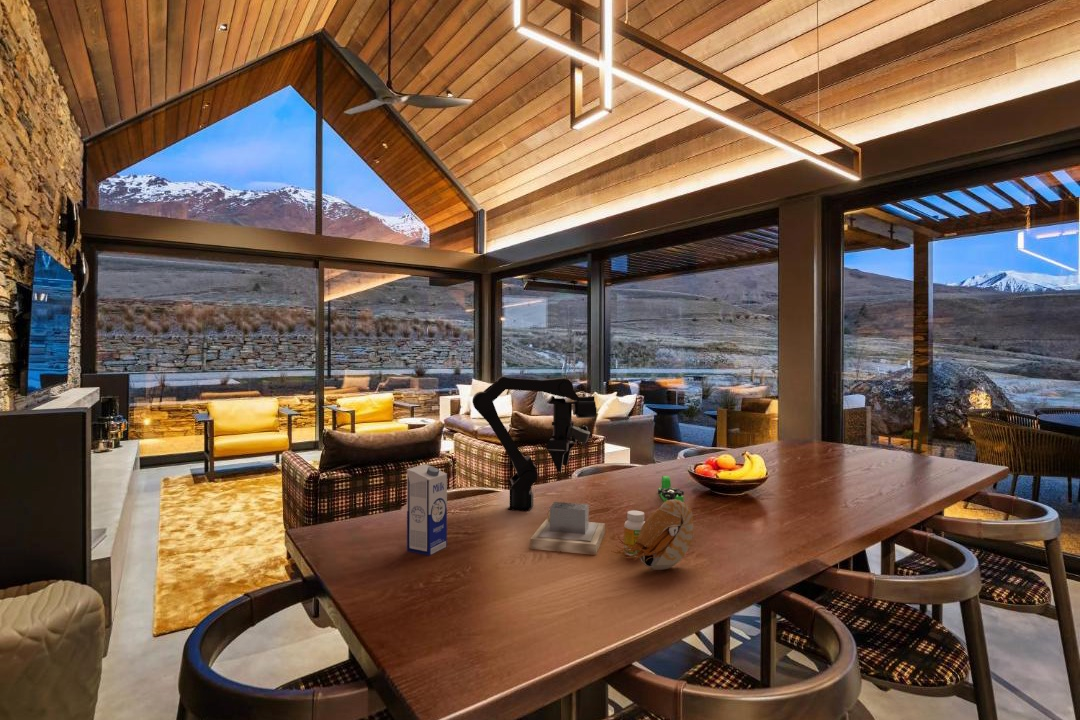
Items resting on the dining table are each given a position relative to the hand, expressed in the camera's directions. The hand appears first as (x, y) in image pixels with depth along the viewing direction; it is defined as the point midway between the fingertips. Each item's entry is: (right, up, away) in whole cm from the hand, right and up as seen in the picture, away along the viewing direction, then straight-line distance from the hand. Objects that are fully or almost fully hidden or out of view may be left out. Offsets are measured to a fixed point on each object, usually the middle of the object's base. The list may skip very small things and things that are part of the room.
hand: (562, 468), depth 169 cm
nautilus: (+18, -12, -51) cm, 55 cm away
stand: (+1, -12, -31) cm, 33 cm away
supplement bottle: (+16, -12, -40) cm, 45 cm away
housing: (+1, -9, -31) cm, 32 cm away
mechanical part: (+36, -13, +12) cm, 40 cm away
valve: (+27, -12, -27) cm, 41 cm away
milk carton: (-34, -12, -38) cm, 52 cm away
